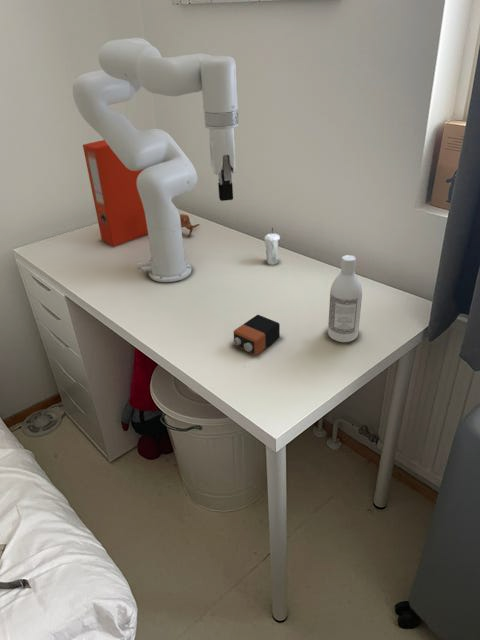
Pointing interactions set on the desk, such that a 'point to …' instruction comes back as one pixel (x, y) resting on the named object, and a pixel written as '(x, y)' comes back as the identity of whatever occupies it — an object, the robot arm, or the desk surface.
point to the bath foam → (345, 303)
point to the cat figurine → (187, 223)
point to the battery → (256, 334)
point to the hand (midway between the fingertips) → (226, 199)
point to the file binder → (114, 195)
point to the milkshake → (272, 247)
